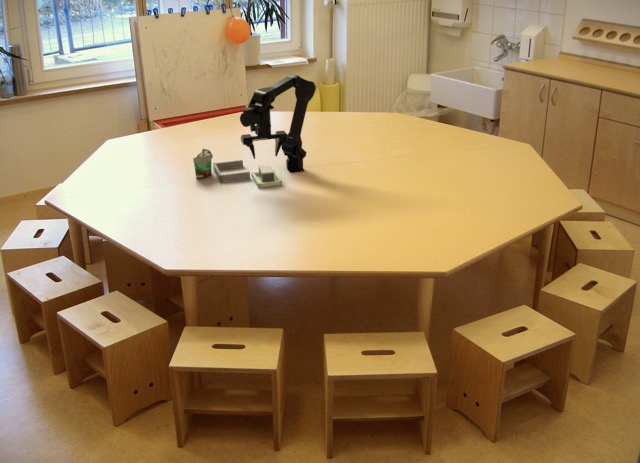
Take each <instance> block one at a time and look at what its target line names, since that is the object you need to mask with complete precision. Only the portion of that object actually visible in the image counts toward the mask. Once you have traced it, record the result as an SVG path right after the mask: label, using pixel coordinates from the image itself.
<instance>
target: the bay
mask: <svg viewBox="0 0 640 463" xmlns="http://www.w3.org/2000/svg"><path fill="white" fill-rule="evenodd" d="M212 165H213V172H214V173H215V175H216V177H217V179H218V181H219V183H225V182H224V181H227V182H235V181H234V180H236V181H242V179H244V180H250V179H251V172H250V171H243V172H242V171H241V172H233V173H224V174H222V173H221V170H228V169H237V168H243V167H244V161H243V159H238V160H229V161H220V162H213V163H212Z"/></svg>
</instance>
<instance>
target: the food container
mask: <svg viewBox="0 0 640 463" xmlns="http://www.w3.org/2000/svg"><path fill="white" fill-rule="evenodd" d="M213 155H214V154H213V153H212V151H211V150H209V149H208V148H207V149H206V148H202V150H201V152H200V153H198V154H197V156H196V157H193V158H192V160H193V166H194V171H195V179H196V180H203V179H208V178H210V177H211V176H212V159H213V158H214V156H213ZM207 177H208V178H207Z"/></svg>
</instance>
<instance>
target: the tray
mask: <svg viewBox="0 0 640 463" xmlns="http://www.w3.org/2000/svg"><path fill="white" fill-rule="evenodd" d="M273 171H274V181H271V182H263V183H262V182H261V179H260V177H259V171H254V172H253V171H251V172H250V177H251V178H252V180H253V182H254V183H255V185H256V186H258V187H257V188H258V189H266V188H275V187H282V186H283V180H282V179H281V177H280V176H279V174H278V173H277V171H276V170H275V169H273Z"/></svg>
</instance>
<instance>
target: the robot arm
mask: <svg viewBox="0 0 640 463" xmlns="http://www.w3.org/2000/svg"><path fill="white" fill-rule="evenodd" d="M292 88H295V89H294V96H295V98H296V101H295V106H294V111H293V114H292V117H291V118H292V119H291V122H290V127H289V132H288V133H287V132H286V131H285V130H276V131H275V133H272V121H271V119H272V118H271V110H274V109H275V107H274V105H272V104H273V103H274V102H275V101H276V99H277V97H278V96H280V95H282V94H283V93H285V92H286V91H288V90H290V89H292ZM316 89H317V86H316V84H315V82H314V81H311V80H307V79H304V78H302V77H301V76H300V75H298V74H297V75H296V74H293V73H292V74H291V73H289V74H287V76H286V77H284V78H282V79H281V80H279V81H277V82H275V83H274V84H272V85H270V86H267V87H262V88H258V89H255V91H253V94H252V97H251V99H250V101H249V103H248V108H246V109H243V110H242V113H241V114H240V117H239V122H240V124H241V125H242V126H243V127H244V128H248V127H249V128H250V129H249V130H250V132H251V133H253V132H254V134H255V135H253V136H252V135H251V134H250V133H247V134H241V135H240V142H241V143H242V145H243V146H246V148H247V147H248V148H249V150H250V152H251V153H250V154H251V156H252V158H253V159H254V160H255V159H256V151H255V150H256V149H255V144H254V142H257V141H258V142H259V141H265V140H266V141H267V140H274V142H275V146H274V147H275V148H274V156H275V158H276V157H278V154H279V152H280V149H281V151H282V152H283V155H284V157H285V156H286V160H285V163H286V164H285V166H286V169H287V171H288V172H289V173H297V172H298V173H299V172H305V169H304V158H306V157H307V151H306V150H305V149H303V140H302V137H301V135H302V130H303V126H304V122H305V118H306V113H307V109H308V104H309V102H310V101H311V100H312V99H313V97H314V95H315V92H316V91H317V90H316Z"/></svg>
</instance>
